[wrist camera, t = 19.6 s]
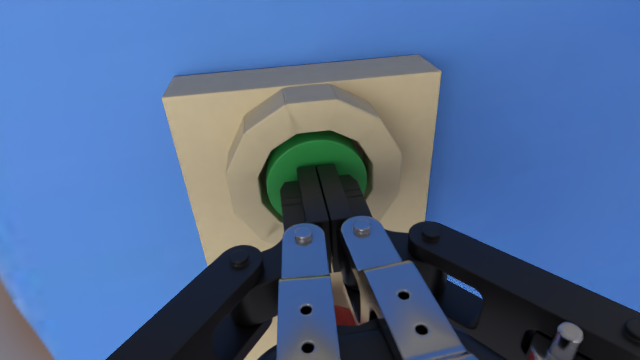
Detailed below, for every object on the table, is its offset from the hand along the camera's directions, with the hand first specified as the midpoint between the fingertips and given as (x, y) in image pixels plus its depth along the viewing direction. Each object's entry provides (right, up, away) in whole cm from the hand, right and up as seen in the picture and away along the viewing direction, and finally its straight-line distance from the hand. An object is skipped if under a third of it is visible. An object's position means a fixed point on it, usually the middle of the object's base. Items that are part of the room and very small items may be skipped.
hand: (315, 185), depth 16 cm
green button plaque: (0, -2, +7) cm, 7 cm away
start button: (0, +1, +1) cm, 2 cm away
